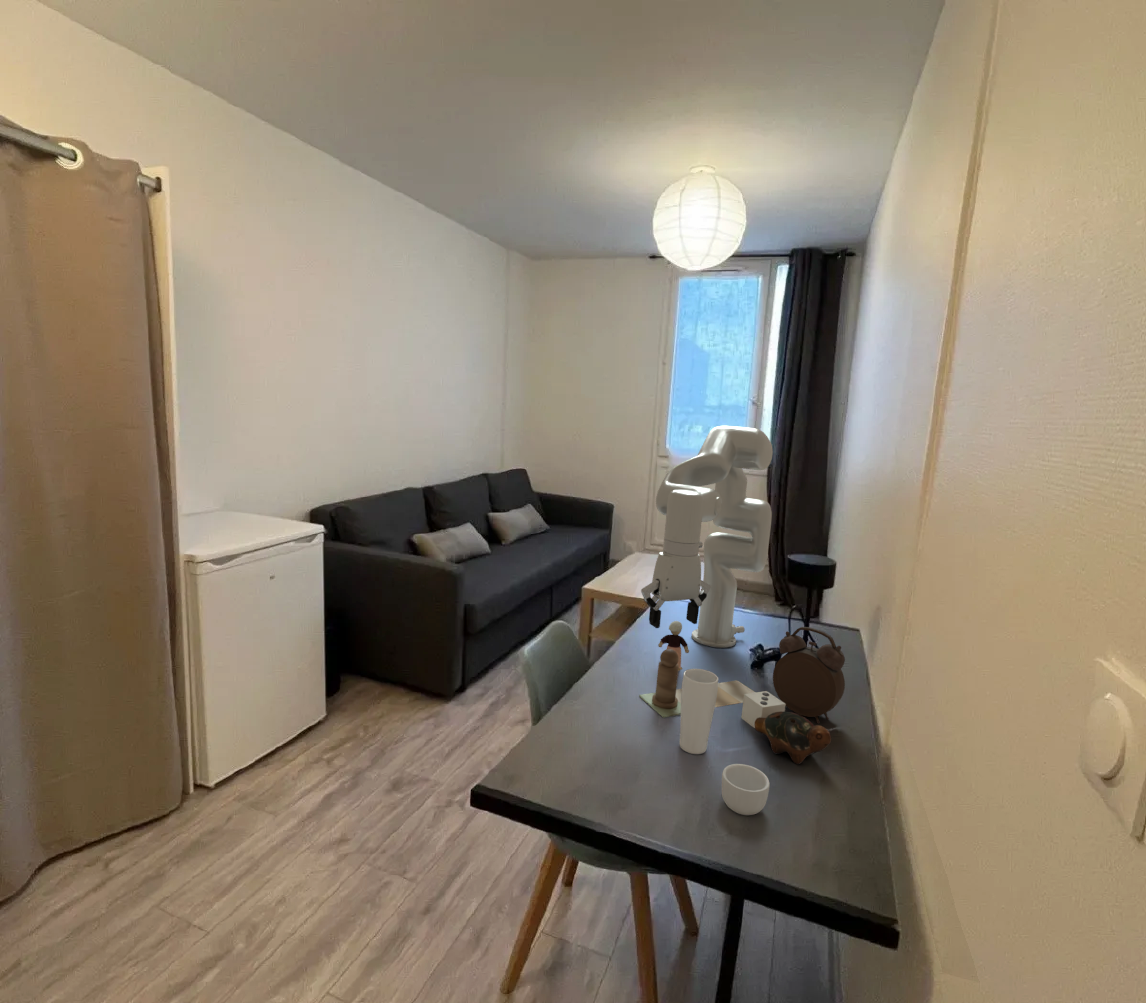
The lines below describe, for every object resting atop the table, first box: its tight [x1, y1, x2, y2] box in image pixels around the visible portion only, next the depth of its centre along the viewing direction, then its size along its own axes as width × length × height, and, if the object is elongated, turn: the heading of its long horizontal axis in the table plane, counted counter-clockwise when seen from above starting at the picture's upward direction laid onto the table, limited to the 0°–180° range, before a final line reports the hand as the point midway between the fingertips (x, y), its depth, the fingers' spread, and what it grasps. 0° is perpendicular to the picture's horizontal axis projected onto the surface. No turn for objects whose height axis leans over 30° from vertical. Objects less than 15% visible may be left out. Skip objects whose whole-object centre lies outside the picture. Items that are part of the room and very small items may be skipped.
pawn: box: [652, 648, 679, 709], centre depth 138 cm, size 6×6×12 cm
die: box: [741, 690, 786, 729], centre depth 132 cm, size 6×6×6 cm
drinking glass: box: [678, 668, 719, 755], centre depth 120 cm, size 7×7×15 cm
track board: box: [638, 679, 756, 719], centre depth 143 cm, size 28×10×1 cm, turn 115°
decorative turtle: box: [754, 711, 832, 765], centre depth 122 cm, size 10×15×8 cm, turn 50°
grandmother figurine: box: [657, 620, 690, 672], centre depth 157 cm, size 8×4×13 cm, turn 84°
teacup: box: [721, 763, 771, 816], centre depth 105 cm, size 10×8×5 cm
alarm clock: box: [772, 626, 846, 724], centre depth 138 cm, size 14×7×20 cm, turn 47°
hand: (673, 623), depth 136 cm, fingers open, 9 cm apart
